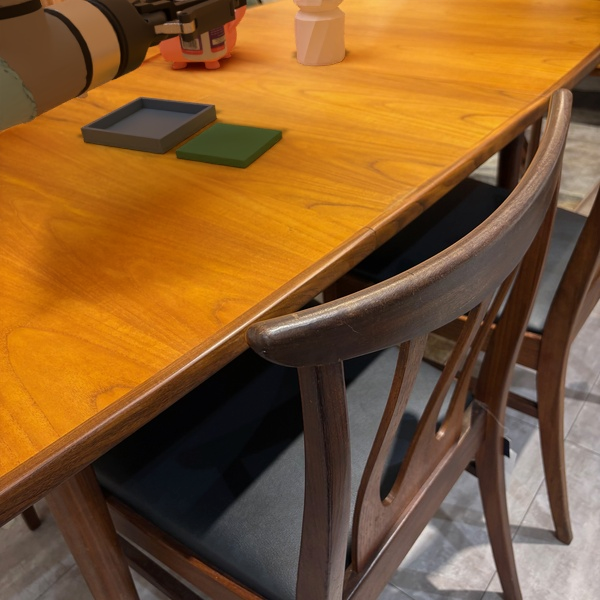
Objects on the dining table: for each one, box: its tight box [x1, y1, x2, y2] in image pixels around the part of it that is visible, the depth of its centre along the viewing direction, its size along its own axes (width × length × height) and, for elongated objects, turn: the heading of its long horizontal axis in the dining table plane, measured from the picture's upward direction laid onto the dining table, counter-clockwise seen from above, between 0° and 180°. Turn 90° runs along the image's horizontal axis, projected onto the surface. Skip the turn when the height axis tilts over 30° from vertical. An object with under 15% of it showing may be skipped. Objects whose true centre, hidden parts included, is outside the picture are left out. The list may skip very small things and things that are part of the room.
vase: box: [292, 0, 346, 67], centre depth 106 cm, size 9×9×12 cm
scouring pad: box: [175, 122, 283, 169], centre depth 79 cm, size 10×10×1 cm
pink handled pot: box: [158, 4, 248, 70], centre depth 109 cm, size 17×16×13 cm
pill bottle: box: [173, 0, 227, 61], centre depth 71 cm, size 5×5×10 cm
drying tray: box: [80, 96, 218, 155], centre depth 85 cm, size 13×13×2 cm
